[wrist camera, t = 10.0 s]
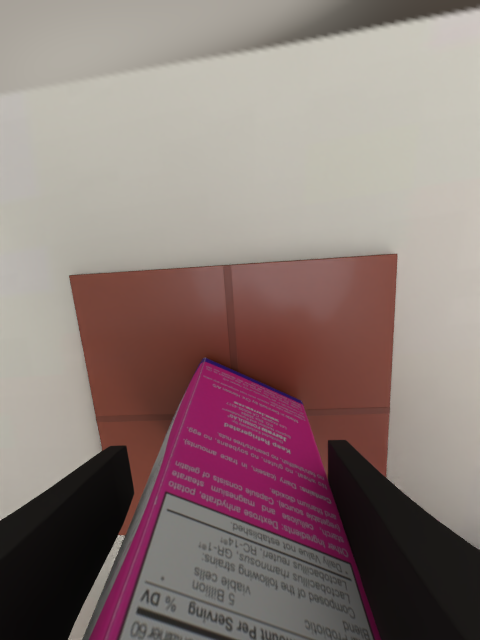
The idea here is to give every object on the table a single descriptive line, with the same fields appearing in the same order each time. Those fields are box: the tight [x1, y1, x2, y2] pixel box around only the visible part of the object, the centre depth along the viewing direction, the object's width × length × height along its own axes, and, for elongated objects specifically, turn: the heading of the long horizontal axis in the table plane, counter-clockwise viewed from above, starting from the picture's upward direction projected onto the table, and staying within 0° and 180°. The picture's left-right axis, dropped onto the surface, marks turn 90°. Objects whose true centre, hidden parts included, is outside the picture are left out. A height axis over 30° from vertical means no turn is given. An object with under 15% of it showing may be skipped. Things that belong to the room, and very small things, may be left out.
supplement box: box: [82, 358, 381, 640], centre depth 9 cm, size 6×6×12 cm
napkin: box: [69, 254, 397, 535], centre depth 15 cm, size 16×16×1 cm
